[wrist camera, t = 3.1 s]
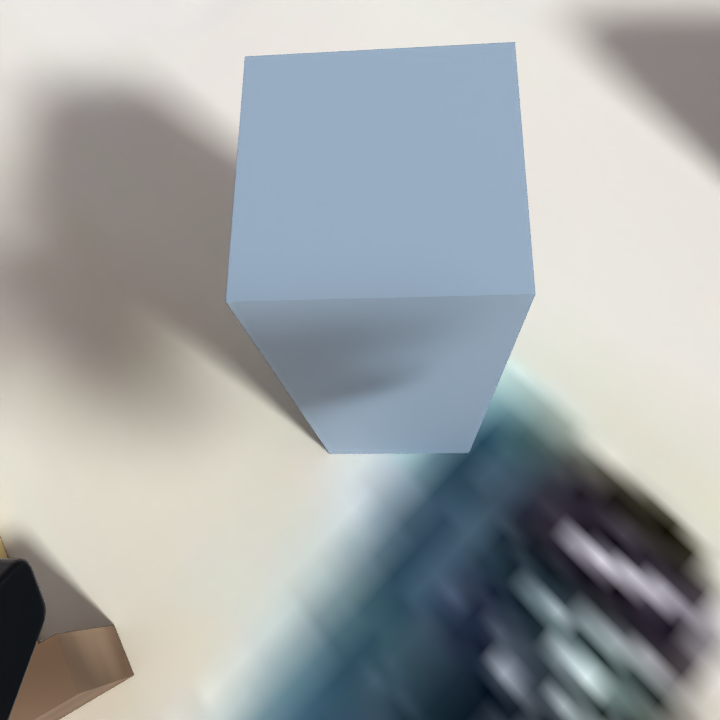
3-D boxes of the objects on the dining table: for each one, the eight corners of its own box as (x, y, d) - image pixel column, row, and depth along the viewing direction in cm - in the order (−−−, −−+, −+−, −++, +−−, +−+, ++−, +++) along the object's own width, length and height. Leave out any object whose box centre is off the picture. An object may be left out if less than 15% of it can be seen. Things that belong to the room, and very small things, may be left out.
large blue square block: (468, 452, 21) (535, 294, 9) (329, 453, 22) (225, 301, 10) (463, 322, 23) (514, 42, 11) (332, 325, 23) (244, 56, 11)
